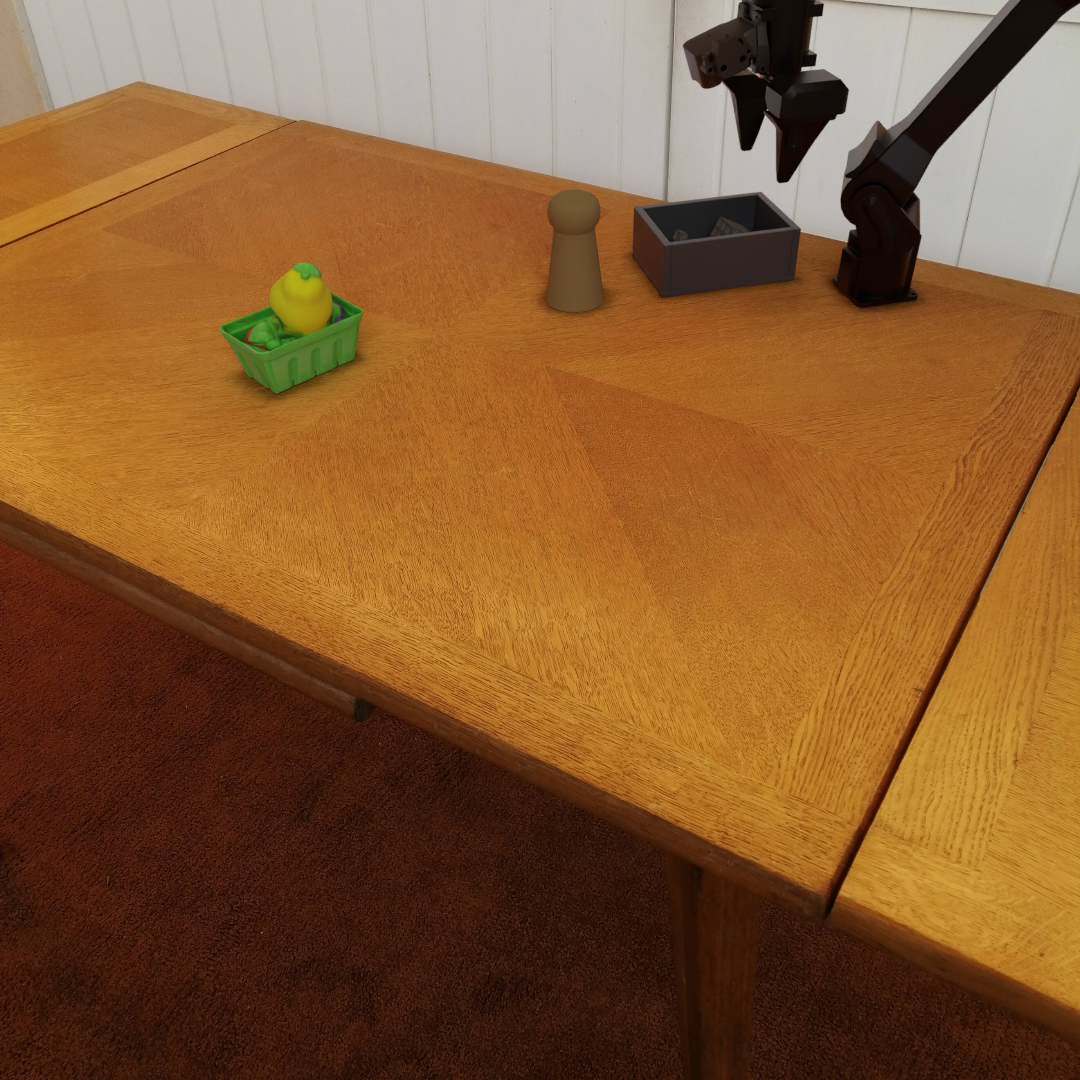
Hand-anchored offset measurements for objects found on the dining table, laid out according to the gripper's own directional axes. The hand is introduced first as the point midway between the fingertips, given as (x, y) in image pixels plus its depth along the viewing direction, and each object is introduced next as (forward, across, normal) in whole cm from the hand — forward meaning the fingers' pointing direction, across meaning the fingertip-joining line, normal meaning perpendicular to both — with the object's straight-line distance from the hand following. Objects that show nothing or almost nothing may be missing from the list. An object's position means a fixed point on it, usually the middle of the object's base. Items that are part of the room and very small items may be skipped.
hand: (763, 165), depth 98 cm
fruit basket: (+12, +6, -47) cm, 49 cm away
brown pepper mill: (+12, -1, -19) cm, 23 cm away
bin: (+12, -4, -3) cm, 13 cm away
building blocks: (+12, -4, -3) cm, 13 cm away
